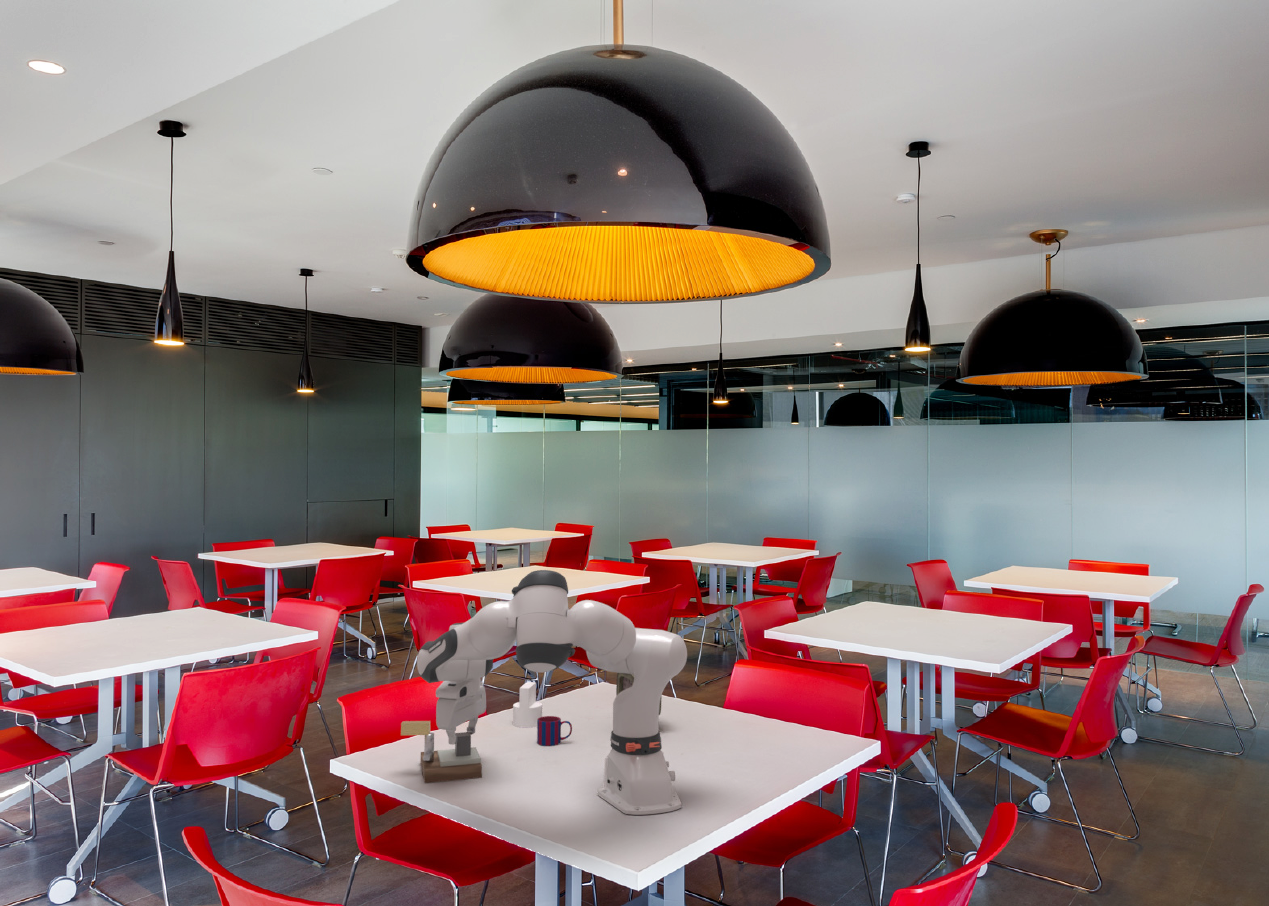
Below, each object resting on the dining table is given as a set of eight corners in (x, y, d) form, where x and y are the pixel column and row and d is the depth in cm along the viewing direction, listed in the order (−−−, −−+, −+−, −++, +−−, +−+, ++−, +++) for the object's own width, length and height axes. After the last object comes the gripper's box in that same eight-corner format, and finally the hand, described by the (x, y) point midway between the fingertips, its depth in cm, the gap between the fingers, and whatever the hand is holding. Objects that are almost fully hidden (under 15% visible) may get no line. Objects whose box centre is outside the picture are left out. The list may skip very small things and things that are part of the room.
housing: (481, 777, 214) (481, 765, 214) (424, 783, 210) (424, 770, 210) (473, 758, 229) (473, 747, 229) (420, 763, 225) (420, 752, 225)
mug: (541, 738, 248) (541, 715, 249) (574, 741, 246) (574, 717, 247) (534, 745, 242) (534, 721, 242) (567, 747, 240) (568, 723, 240)
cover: (480, 763, 216) (481, 738, 216) (440, 766, 213) (441, 741, 213) (475, 751, 225) (476, 728, 226) (437, 755, 222) (437, 731, 223)
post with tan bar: (397, 765, 212) (398, 726, 213) (402, 759, 218) (403, 721, 218) (431, 765, 213) (431, 726, 213) (434, 758, 218) (435, 720, 219)
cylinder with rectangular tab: (517, 719, 269) (517, 681, 270) (545, 720, 268) (545, 682, 269) (509, 727, 261) (509, 687, 261) (537, 728, 259) (538, 688, 260)
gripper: (471, 675, 231) (470, 727, 230) (432, 692, 211) (430, 748, 211) (492, 677, 229) (491, 729, 228) (454, 694, 210) (453, 750, 209)
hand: (462, 738), depth 219 cm, fingers open, 8 cm apart
